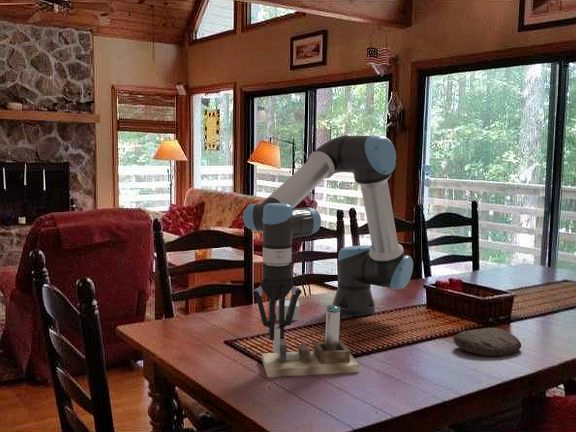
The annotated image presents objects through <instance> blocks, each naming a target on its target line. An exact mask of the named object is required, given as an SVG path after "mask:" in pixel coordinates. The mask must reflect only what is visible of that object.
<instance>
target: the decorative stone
mask: <svg viewBox="0 0 576 432" xmlns="http://www.w3.org/2000/svg"><path fill="white" fill-rule="evenodd" d="M453 343H454V344H455V346H457V347H458V348H459V349H461V350H463V351H466V352H469V353H472V354H477V355H480V356H487V357H488V356H489V357H490V356H491V357H494V356H495V357H497V356H499V357H500V356H507V355H510V354H514V353H518V351H520V349H521V348H522V343H521V341H520V340H519V339H518V338H517V336H516V335H514V334H512V333H510V332H509V331H506V330H505V329H502V328H497V327H483V328H477V329H469V330H463V331H461V332H458V333H456V334H455V335H454V337H453Z"/></svg>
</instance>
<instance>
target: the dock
mask: <svg viewBox="0 0 576 432" xmlns="http://www.w3.org/2000/svg"><path fill="white" fill-rule="evenodd" d="M297 349H298V350H297V351H288V352H287V351H286V353H301V360H287V361H286V362H280V361H279V359H278V353H274V352H267V353H266V352H264V353H263V352H262V353H261V363H262V362H263V363H262V366H263V365H264V366H263V368H264V371H265V373H266V376H267V378H277V377H280V378H283V377H296V376H312V375H313V376H314V375H331V374H348V373H351V374H352V373H360V364H359V362H358V361H357V360H356V358H355V357H354V356H353V355H352V354H351V350H350V349H349V348H348V347H347V345H346V344H345V343H344V342H343V341H339V345H338V350H335V351H325V341H324V342H313V350H310V348H309V346H308V345H307V343H305V342H304V343H298V348H297ZM310 352H311V354H312V359H310Z"/></svg>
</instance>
